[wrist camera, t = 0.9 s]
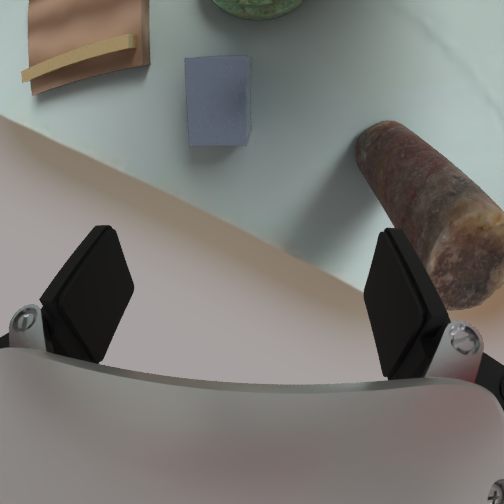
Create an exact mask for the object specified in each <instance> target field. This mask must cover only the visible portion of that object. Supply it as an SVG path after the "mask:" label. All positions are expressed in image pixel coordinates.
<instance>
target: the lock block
mask: <svg viewBox="0 0 504 504" xmlns="http://www.w3.org/2000/svg"><path fill="white" fill-rule="evenodd" d="M251 60H252V57H251V56H247V55H230V56H209V57H196V58H185V80H186V101H187V118H188V133H189V146H246V145H247V142H248V139H249V136H250V132H251Z"/></svg>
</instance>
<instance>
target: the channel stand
mask: <svg viewBox="0 0 504 504" xmlns="http://www.w3.org/2000/svg"><path fill="white" fill-rule="evenodd" d="M28 53H29V68H28V69H26V70H24V71H22V72H21V73H22V83H24V82H27V81H31V91H32V95H35V94H38V93H41V92H44V91H47V90H50V89H52V88H55V87H58V86H62V85H65V84H68V83H71V82H75V81H78V80H81V79H85V78H89V77H93V76H96V75H101V74H105V73H109V72H113V71H118V70H123V69H128V68H133V67H138V66H144V65H150V42H149V0H29V11H28Z"/></svg>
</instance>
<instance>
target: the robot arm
mask: <svg viewBox="0 0 504 504" xmlns="http://www.w3.org/2000/svg"><path fill="white" fill-rule="evenodd" d="M133 292H134V284H133V281H132V278H131V275H130V272H129V269H128V267H127V264H126V261H125V258H124V255H123V252H122V248H121V245H120V242H119V239H118V236H117V233H116V231H115V230H114V229H112V227H111V226H109V225H102V226H101V225H100V226H95V227H94V228H93V229H92V231H91V232H90V233H89V234H88V235H87V237H86V238H85V239H84V240H83V241H82V243H81V244H80V245H79V246H78V248H77V249H76V250H75V251H74V253H73V254H72V255H71V256H70V258H69V259H68V260H67V262H66V263H65V264H64V266H63V267H62V268H61V270H60V271H59V272H58V274H57V275H56V276H55V278H54V279H53V281H52V282H51V284H50V285H49V286H48V288H47V289H46V291H45V292H44V293H43V295H42V296H41V298H40V299H39V300H40V302H41V303H42V305H43V307H42V309H40V308H39V307H38V306H37V305H34V304H31V305H27V306H24V307H22V308H21V309H19V310H18V311H17V312H16V313H15V314H14V316H13V317H12V319H11V321H10V325H9V333H7V334H6V335H4V336H2V337H0V504H504V365H502V364H501V363H499V362H497V361H496V360H494V359H493V358H491V357H490V356H488V355H487V354H485V353H484V352H483V350H484V342H483V338H482V336H481V334H480V333H479V331H478V330H477V329H476V328H475V327H474V326H472V325H471V324H470V323H467V322H465V321H453V322H451V321H450V319H449V317H448V313H447V311H446V308H445V306H444V304H443V302H442V300H441V298H440V296H439V294H438V292H437V290H436V288H435V286H434V284H433V282H432V280H431V279H430V277H429V275H428V273H427V271H426V269H425V267H424V266H423V264H422V262H421V260H420V258H419V257H418V255H417V253H416V251H415V250H414V248H413V246H412V245H411V243H410V241H409V239H408V238H407V236H406V235H405V233H404V231H403V230H402V229H400V228H386V229H385V230H384V232H380V234H379V236H378V241H377V245H376V249H375V253H374V256H373V260H372V264H371V268H370V271H369V275H368V278H367V282H366V285H365V289H364V301H365V304H366V308H367V311H368V316H369V319H370V323H371V327H372V331H373V335H374V339H375V343H376V347H377V351H378V355H379V360H380V365H381V369H382V373H383V376H384V377H388V381H376V382H362V383H342V384H315V385H277V384H276V385H275V384H248V383H230V382H217V381H206V380H195V379H187V378H178V377H170V376H163V375H156V374H149V373H143V372H137V371H131V370H126V369H120V368H115V367H110V366H105V365H100V364H99V362H100V361H102V360H103V359H104V356H105V354H106V351H107V349H108V347H109V344H110V342H111V340H112V338H113V335H114V333H115V331H116V329H117V326H118V324H119V322H120V320H121V317H122V316H123V313H124V311H125V309H126V307H127V305H128V303H129V300H130V298H131V296H132V294H133Z"/></svg>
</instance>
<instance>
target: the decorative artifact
mask: <svg viewBox="0 0 504 504" xmlns="http://www.w3.org/2000/svg"><path fill="white" fill-rule="evenodd" d="M212 1H213V2H214V3H215V4H216V5H218V6H219V7H220V8H221V9H222V10H224V11H225V12H227V13H229V14H231V15H234V16H236V17H239V18H243V19H249V20H267V19H273V18H277V17H280V16H282V15H285V14H287V13H289V12H291V11H292V10H294V9H295V8H296V7H297V6H299V5H300V4H301V2H302V1H303V0H212Z"/></svg>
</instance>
